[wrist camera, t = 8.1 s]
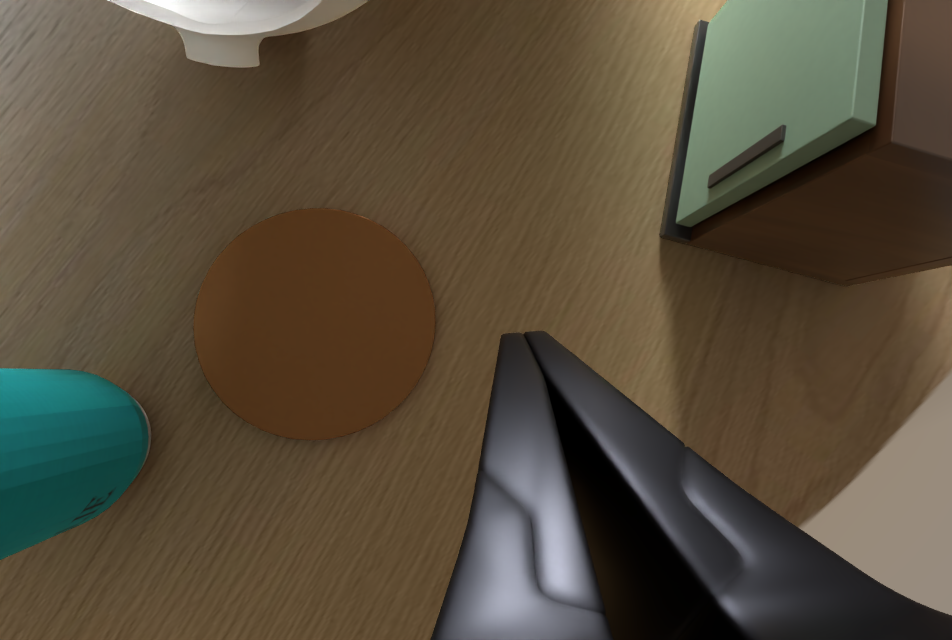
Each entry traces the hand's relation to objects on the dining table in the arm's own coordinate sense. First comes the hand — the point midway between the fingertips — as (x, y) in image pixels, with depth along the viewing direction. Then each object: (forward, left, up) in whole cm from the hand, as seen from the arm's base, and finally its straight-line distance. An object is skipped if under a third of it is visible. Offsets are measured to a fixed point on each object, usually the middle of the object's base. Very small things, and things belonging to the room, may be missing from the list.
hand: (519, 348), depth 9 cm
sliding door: (+3, -16, -11) cm, 20 cm away
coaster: (+5, +4, -12) cm, 14 cm away
